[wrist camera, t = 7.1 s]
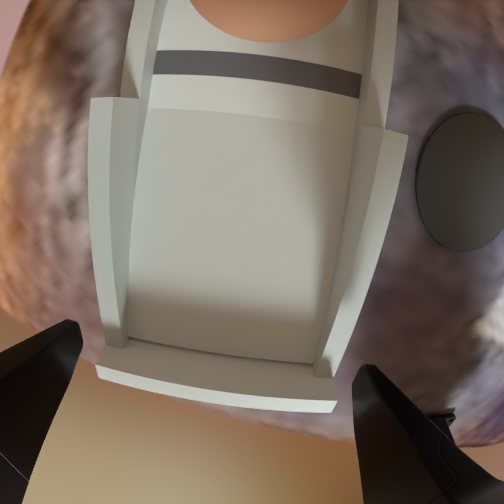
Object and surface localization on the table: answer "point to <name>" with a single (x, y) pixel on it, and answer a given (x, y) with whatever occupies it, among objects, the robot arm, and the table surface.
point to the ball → (269, 17)
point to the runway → (241, 204)
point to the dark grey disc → (462, 182)
